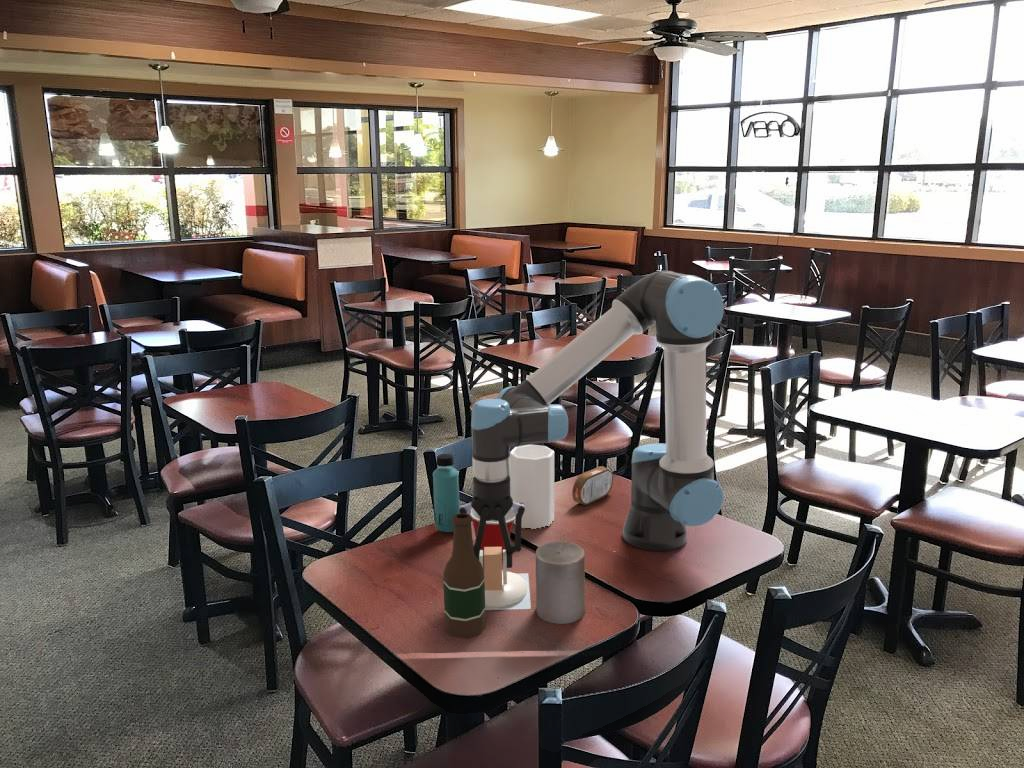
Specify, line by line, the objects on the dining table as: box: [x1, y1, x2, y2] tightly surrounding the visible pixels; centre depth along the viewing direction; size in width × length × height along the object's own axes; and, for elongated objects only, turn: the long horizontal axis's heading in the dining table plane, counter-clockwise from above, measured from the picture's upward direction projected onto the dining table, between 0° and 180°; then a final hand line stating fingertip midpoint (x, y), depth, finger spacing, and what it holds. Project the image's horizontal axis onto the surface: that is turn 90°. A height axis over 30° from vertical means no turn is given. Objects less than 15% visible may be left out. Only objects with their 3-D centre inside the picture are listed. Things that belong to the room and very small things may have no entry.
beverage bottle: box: [432, 453, 461, 533], centre depth 198 cm, size 6×7×20 cm
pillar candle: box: [535, 541, 586, 625], centre depth 161 cm, size 10×10×15 cm
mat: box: [485, 572, 532, 611], centre depth 171 cm, size 15×15×1 cm
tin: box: [571, 465, 614, 506], centre depth 219 cm, size 15×3×8 cm, turn 136°
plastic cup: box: [470, 507, 516, 562], centre depth 185 cm, size 11×11×12 cm
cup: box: [509, 444, 555, 530], centre depth 205 cm, size 11×11×18 cm
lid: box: [483, 547, 527, 608], centre depth 170 cm, size 14×14×9 cm
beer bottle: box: [442, 513, 486, 640], centre depth 154 cm, size 8×8×24 cm
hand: (493, 581), depth 170 cm, fingers open, 4 cm apart
